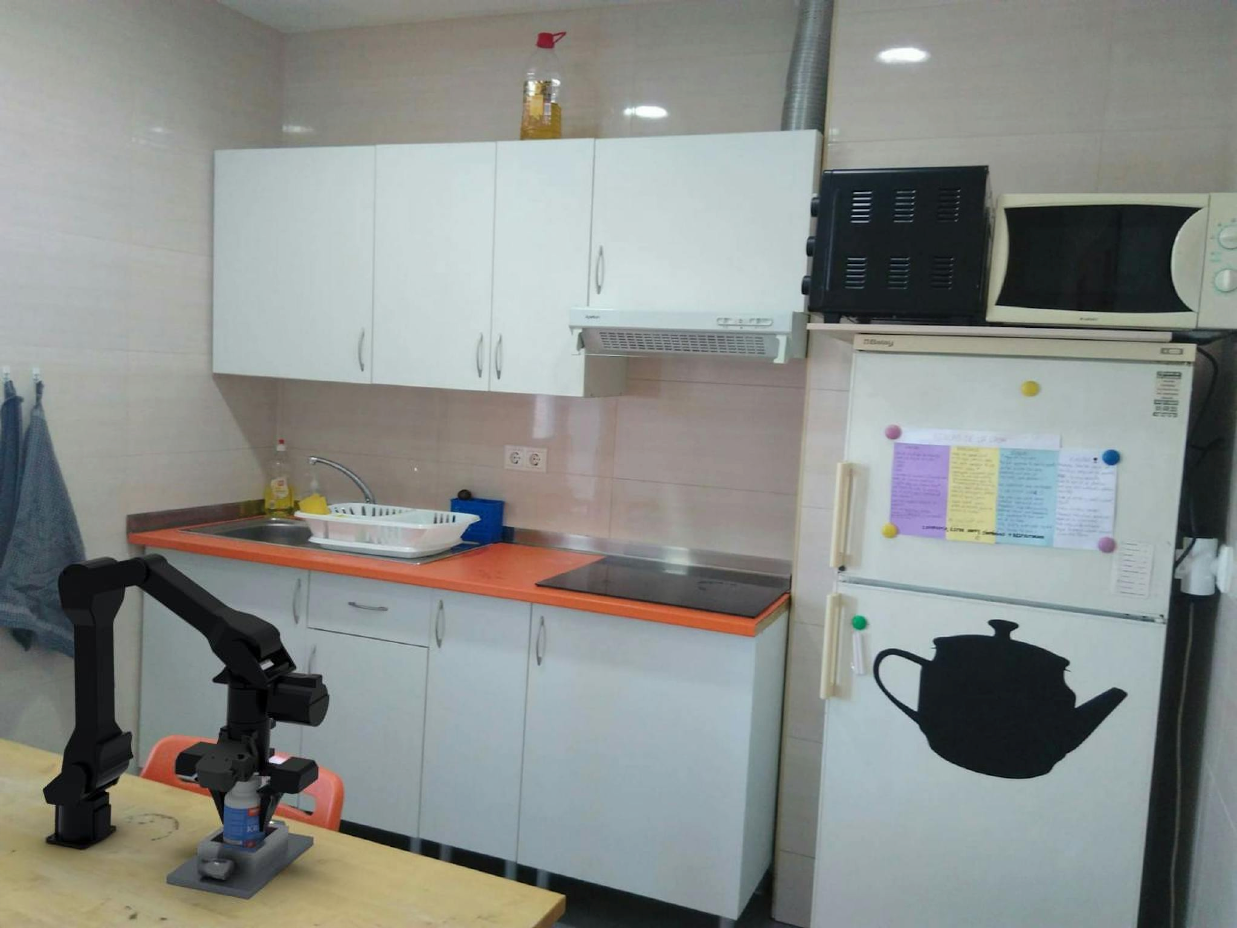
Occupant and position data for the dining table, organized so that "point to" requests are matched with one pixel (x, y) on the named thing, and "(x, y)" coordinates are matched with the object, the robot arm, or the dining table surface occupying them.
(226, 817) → the pill bottle
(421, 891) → the dining table surface
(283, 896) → the dining table surface
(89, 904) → the dining table surface
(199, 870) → the base
